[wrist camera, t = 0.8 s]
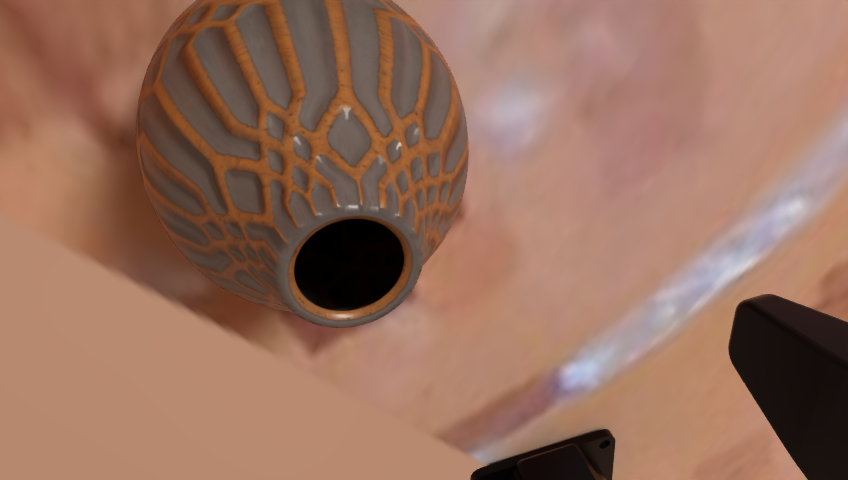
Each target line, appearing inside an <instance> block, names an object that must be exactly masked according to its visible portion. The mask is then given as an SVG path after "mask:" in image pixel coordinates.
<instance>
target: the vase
mask: <svg viewBox="0 0 848 480" xmlns="http://www.w3.org/2000/svg"><path fill="white" fill-rule="evenodd" d="M136 149H137V156H138V162H139V167H140V171H141V176H142V180H143V183H144V186H145V189H146V192H147V195H148V197H149V199H150V202H151V204H152V206H153V209H154V211H155V213H156V215H157V217H158V218H159V220H160V222H161V224H162V225H163V227H164V229H165V230H166V232H167V233H168V235H169V237H170V238H171V240H172V241H173V242H174V243H175V245H176V246H177V247H178V248H179V250H180V251H181V252H182V253H183V255H184V256H185V257H186V258H187V259H188V260H189V261H190V262H191V263H192V264H193V265H194V266H195V267H196V268H197V269H198V270H199V271H201V272H202V273H203V274H204V275H205V276H207V277H208V278H209V279H211V280H212V281H213V282H215V283H216V284H218V285H219V286H221V287H222V288H224V289H226V290H227V291H229V292H231V293H233V294H235V295H237V296H239V297H242V298H244V299H246V300H248V301H251V302H253V303H256V304H259V305H263V306H266V307H270V308H274V309H279V310H285V311H291V312H293V313H294V314H296V315H297V316H299V317H300V318H302V319H304V320H306V321H308V322H311V323H313V324H316V325H320V326H325V327H333V328H346V327H354V326H359V325H363V324H366V323H369V322H372V321H375V320H377V319H379V318H381V317H383V316H385V315H386V314H388V313H389V312H391V311H392V310H394V309H395V308H396V307H397V306H399V305H400V304H401V303H402V302H403V301H404V300H405V299H406V297H407V296H408V295H409V294H410V292H411V291H412V290H413V288H414V286H415V285H416V283H417V280H418V278H419V276H420V273H421V269H422V266H423V265H424V264H425V263H426V262H427V260H428V259H429V258H430V257H431V256H432V255H433V253H434V252H435V251H436V250H437V248H438V247H439V246H440V244H441V243H442V241H443V240H444V238H445V236H446V235H447V233H448V231H449V229H450V227H451V225H452V223H453V221H454V219H455V217H456V215H457V212H458V209H459V207H460V204H461V201H462V197H463V193H464V189H465V184H466V178H467V171H468V133H467V125H466V118H465V113H464V108H463V105H462V101H461V97H460V94H459V90H458V88H457V85H456V82H455V80H454V77H453V75H452V73H451V71H450V69H449V67H448V65H447V63H446V61H445V59H444V57H443V55H442V54H441V52H440V51H439V49H438V48H437V47H436V45H435V44H434V42H433V41H432V40H431V38H430V37H429V36H428V35H427V33H426V32H425V31H424V30H423V29H422V27H421V26H420V25H419V24H418V23H417V22H416V21H415V20H414V19H413V18H412V17H411V16H410V15H409V14H407V13H406V12H405V11H404V10H403V9H402V8H400V7H399V6H398V5H397V4H396V3H394V2H393V1H391V0H196V1H195V2H194V3H193V4H192V5H191V6H189V7H188V8H187V9H186V10H185V11H184V12H183V13H182V14H181V15H180V16H179V17H178V18H177V19H176V21H175V22H174V23H173V24H172V26H171V27H170V28H169V30H168V31H167V32H166V34H165V35H164V37H163V38H162V40H161V42H160V44H159V46H158V47H157V49H156V51H155V53H154V55H153V57H152V59H151V62H150V64H149V66H148V69H147V72H146V75H145V78H144V81H143V85H142V89H141V93H140V97H139V102H138V109H137V120H136Z"/></svg>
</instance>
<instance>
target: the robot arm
mask: <svg viewBox="0 0 848 480" xmlns="http://www.w3.org/2000/svg"><path fill="white" fill-rule="evenodd" d="M728 349H729V356H730V359H731V361H732V364H733V366H734V367H735V369H736V371H737V372H738V374H739V375H740V377H741V379H742V380H743V382H744V383H745V385H746V386H747V388H748V390H749V391H750V393H751V394H752V396H753V398H754V399H755V401H756V402H757V404H758V405H759V407H760V409H761V410H762V412H763V413H764V415H765V417H766V418H767V420H768V421H769V423H770V424H771V426H772V428H773V429H774V431H775V432H776V434H777V436H778V437H779V439H780V440H781V442H782V443H783V445H784V447H785V448H786V450H787V451H788V453H789V454H790V456H791V457H792V459H793V460H794V461H795V463H796V464H797V466H798V467H799V468H800V470H801V471H802V472H803V474H804V475H805V477H806V478H807V479H808V480H848V322H846V321H843V320H841V319H838V318H835V317H833V316H830V315H827V314H825V313H822V312H819V311H817V310H814V309H811V308H809V307H806V306H803V305H801V304H798V303H795V302H793V301H790V300H787V299H785V298H782V297H779V296H776V295H773V294H764V295H760V296H757V297H753V298H750V299H747V300H744V301H742V302H740V303H739V305H738V306H737V308H736V311H735V316H734V321H733V326H732V331H731V335H730V340H729V346H728ZM614 450H615V438H614V437H613V435H612V434H611V432H610V431H609V430H607V429H603V430H599V431H595V432H592V433H589V434H586V435H583V436H580V437H577V438H573V439H570V440H567V441H564V442H561V443H558V444H554V445H551V446H548V447H545V448H542V449H539V450H536V451H532V452H529V453H526V454H523V455H520V456H517V457H513V458H510V459H507V460H504V461H501V462H498V463H494V464H491V465H488V466H485V467H482V468H480V469H477V470H476V471H475V472H473V474H472V475H471V480H612V473H613V461H614Z"/></svg>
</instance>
